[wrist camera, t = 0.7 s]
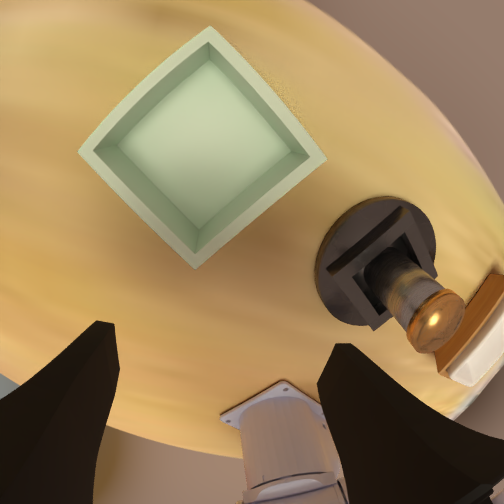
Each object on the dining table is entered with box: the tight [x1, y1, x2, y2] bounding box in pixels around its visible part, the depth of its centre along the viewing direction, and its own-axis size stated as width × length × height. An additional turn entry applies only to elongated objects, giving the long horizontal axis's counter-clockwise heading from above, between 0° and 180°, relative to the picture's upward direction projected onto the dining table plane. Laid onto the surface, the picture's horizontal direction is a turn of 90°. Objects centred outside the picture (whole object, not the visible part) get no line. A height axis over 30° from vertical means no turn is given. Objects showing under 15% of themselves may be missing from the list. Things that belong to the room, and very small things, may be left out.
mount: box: [315, 196, 438, 331], centre depth 19 cm, size 10×10×2 cm
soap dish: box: [434, 274, 504, 387], centre depth 23 cm, size 12×10×5 cm
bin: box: [77, 25, 327, 270], centre depth 14 cm, size 8×8×4 cm
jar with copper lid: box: [364, 247, 465, 353], centre depth 16 cm, size 4×4×7 cm
